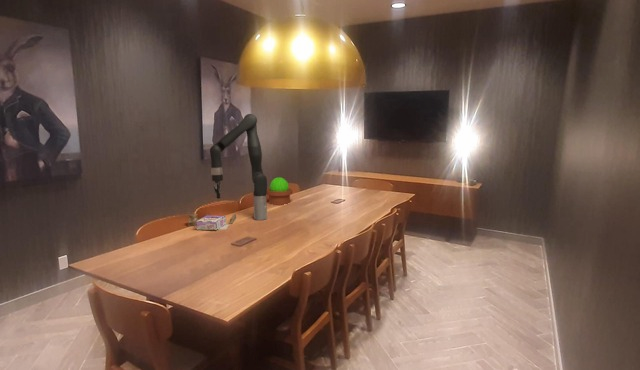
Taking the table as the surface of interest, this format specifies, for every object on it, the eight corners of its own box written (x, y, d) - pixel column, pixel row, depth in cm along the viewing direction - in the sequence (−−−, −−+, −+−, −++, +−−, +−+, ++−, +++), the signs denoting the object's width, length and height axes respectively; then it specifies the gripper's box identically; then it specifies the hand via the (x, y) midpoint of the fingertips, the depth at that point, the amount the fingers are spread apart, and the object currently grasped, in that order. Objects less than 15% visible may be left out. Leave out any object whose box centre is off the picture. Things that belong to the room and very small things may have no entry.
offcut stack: (198, 223, 248) (198, 213, 247) (195, 226, 240) (195, 215, 240) (191, 223, 248) (190, 213, 247) (187, 226, 240) (187, 216, 239)
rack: (236, 218, 263) (235, 213, 262) (232, 223, 246) (232, 219, 246) (206, 218, 261) (206, 214, 261) (201, 224, 245) (200, 219, 244)
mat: (229, 225, 243) (229, 224, 243) (225, 229, 231) (225, 229, 231) (202, 225, 242) (202, 225, 242) (197, 230, 230) (197, 229, 230)
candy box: (226, 215, 243) (216, 221, 227) (226, 224, 244) (217, 230, 228) (206, 215, 245) (195, 220, 229) (206, 223, 246) (196, 229, 229)
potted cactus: (281, 208, 298) (280, 178, 294) (261, 205, 309) (260, 177, 306) (297, 204, 316) (297, 176, 312) (278, 201, 328) (277, 174, 324)
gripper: (220, 174, 243) (222, 199, 246) (224, 172, 256) (225, 196, 259) (209, 175, 243) (211, 200, 245) (213, 172, 256) (215, 196, 258)
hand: (218, 198), depth 252 cm, fingers closed
